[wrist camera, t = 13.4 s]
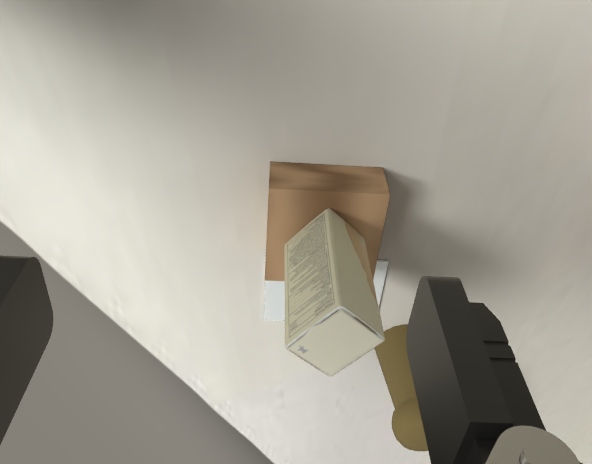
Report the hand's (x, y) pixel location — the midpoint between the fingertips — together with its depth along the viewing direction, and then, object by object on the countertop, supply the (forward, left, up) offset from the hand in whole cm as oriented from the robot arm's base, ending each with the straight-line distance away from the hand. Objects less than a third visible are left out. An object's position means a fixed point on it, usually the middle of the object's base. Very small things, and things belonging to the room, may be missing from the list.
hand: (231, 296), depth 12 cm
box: (+5, -18, -26) cm, 32 cm away
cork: (+15, -34, -30) cm, 48 cm away
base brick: (+5, -18, -30) cm, 35 cm away
